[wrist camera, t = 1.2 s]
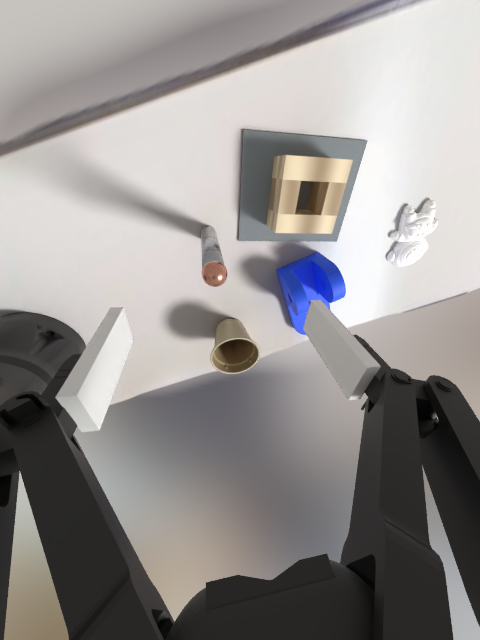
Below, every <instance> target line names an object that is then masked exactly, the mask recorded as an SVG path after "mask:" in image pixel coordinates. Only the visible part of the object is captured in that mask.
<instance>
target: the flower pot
mask: <svg viewBox="0 0 480 640" xmlns="http://www.w3.org/2000/svg"><path fill="white" fill-rule="evenodd" d="M259 357H260V349H259V347H258V345H257V344H256V343H255V342H254V341H253V340H252V339H251V338H250V336H249V335H248V333H247V331H246V329H245V327H244V326H243V324H242V322H240V321H239V320H237V319H230V318H229V319H225V320H223V321H221V322H220V323H219V324H218V326H217V328H216V336H215V346H214V348H213V350H212V352H211V357H210V360H211V363H212V365H213V367H214V368H215V369H217V370H218V371H220V372H223V373H227V374H237V373H241V372H244V371H246V370H248V369H250V368H251V367H253V366H254V365H255V364H256V362H257V361H258V359H259Z"/></svg>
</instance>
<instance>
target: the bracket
mask: <svg viewBox="0 0 480 640" xmlns="http://www.w3.org/2000/svg"><path fill="white" fill-rule="evenodd" d="M276 271H277V274H278V278H279V281H280V285H281V288H282V292H283V295H284V298H285V302H286V305H287V309H288V312H289V316H290V319H291V322H292V324H293V326H294V328H295V330H296V331H297V332H298V333H300V334H304V335H306V333H305V332H304V330H303V327H304V324H305V320H306V317H307V316H306V312H308V310H309V301H311V300H321V301H322V302H323V303H324V304H325V305H326V306H327V307H328V308H329V310H330V305H329V303H331V302H334V301H336V300H339V299H341V298H343V297H344V296H345V292H346V289H345V283H344V280H343V277H342V275H341V273H340V271H339V269H338V268H337V266H336V265H335V264H334V263H333V262H331V261H330V260H329V259H327V258H326V257H324V256H323V255H322V254H320V253H319V252H317V253H314V254H312V255H310V256H307V257H305V258H303V259H300V260H298V261H296V262H293V263H291V264H288V265H286V266H284V267H281V268H279V269H277V270H276Z"/></svg>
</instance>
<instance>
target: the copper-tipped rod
mask: <svg viewBox="0 0 480 640" xmlns="http://www.w3.org/2000/svg"><path fill="white" fill-rule="evenodd" d="M201 247H202V268H203V269H202V278H203V280H204V281H205V283H206V284H208V285H210V286H213V287H217V286H220V285H222V284H223V283H224V282H225V281H226V278H227V270H226V267H225V266H224V262H223V258H222V254H221V251H220V247H219V243H218V239H217V236H216V232H215V230H214V228H213V227H211V226H205V227H204V228H203V229H202V230H201Z"/></svg>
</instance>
